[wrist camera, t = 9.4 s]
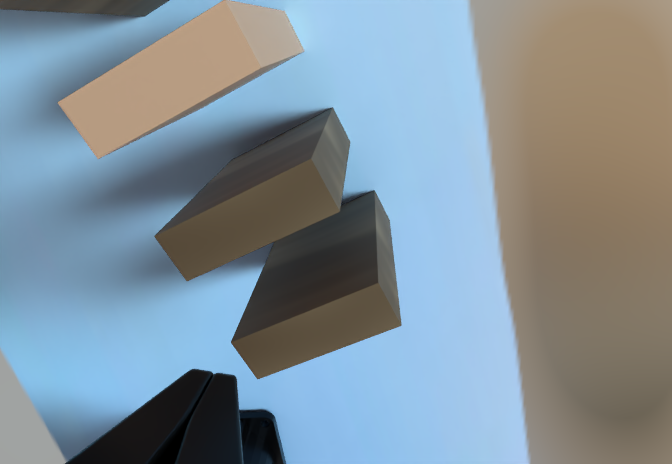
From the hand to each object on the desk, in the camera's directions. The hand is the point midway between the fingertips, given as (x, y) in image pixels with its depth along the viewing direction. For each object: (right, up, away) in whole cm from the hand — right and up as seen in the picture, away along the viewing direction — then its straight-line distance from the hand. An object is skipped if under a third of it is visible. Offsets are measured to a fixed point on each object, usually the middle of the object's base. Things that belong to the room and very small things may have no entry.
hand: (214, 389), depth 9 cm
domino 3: (-2, +10, +10) cm, 14 cm away
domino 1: (+2, +3, +12) cm, 13 cm away
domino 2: (0, +6, +11) cm, 13 cm away
